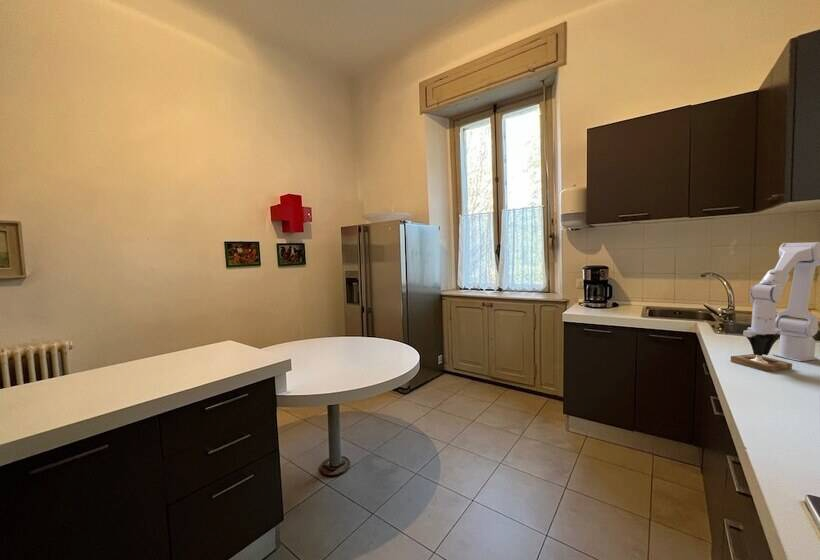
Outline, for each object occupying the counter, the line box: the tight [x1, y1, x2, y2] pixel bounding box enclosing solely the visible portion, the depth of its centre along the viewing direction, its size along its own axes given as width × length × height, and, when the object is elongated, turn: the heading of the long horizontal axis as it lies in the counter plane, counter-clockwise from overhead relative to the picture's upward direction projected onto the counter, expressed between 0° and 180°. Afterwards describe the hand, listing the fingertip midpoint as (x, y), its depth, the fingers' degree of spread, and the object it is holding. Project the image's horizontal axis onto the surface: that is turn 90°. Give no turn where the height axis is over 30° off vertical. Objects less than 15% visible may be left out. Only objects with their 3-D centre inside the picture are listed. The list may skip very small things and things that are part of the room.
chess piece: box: [750, 355, 768, 364], centre depth 117 cm, size 5×5×10 cm
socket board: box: [730, 353, 793, 373], centre depth 117 cm, size 11×11×2 cm
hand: (760, 354), depth 117 cm, fingers closed on chess piece, 2 cm apart
